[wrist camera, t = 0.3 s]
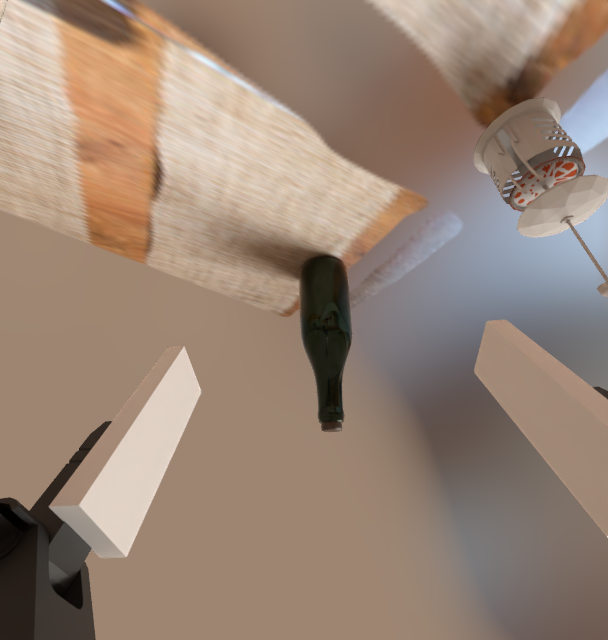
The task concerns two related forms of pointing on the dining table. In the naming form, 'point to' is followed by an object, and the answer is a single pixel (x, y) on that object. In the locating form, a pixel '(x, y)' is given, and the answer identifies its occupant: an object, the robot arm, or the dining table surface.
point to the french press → (540, 172)
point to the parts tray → (2, 7)
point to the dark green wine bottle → (326, 332)
